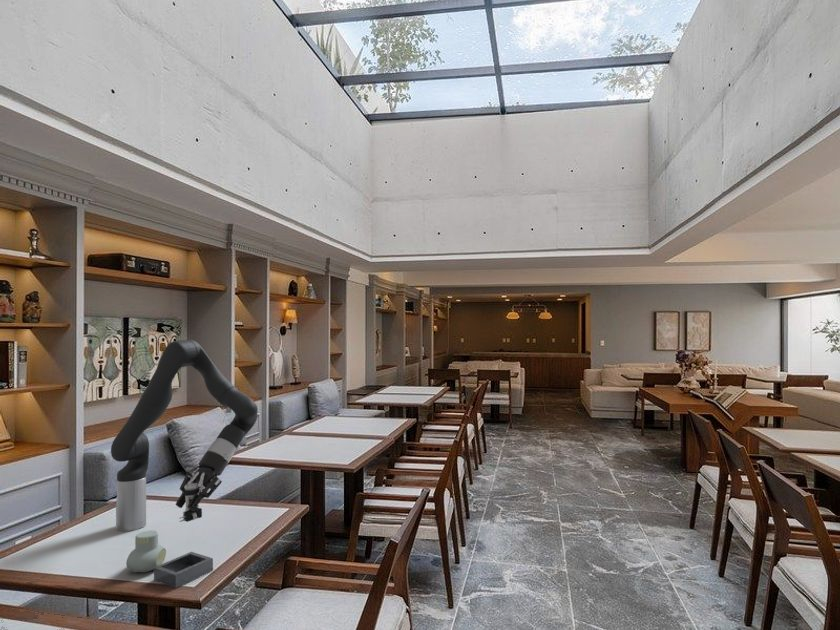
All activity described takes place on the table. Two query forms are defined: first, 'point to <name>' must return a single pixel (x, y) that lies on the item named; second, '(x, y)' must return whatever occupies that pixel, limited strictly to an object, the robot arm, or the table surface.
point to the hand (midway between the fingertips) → (184, 507)
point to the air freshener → (146, 552)
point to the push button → (189, 494)
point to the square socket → (175, 579)
